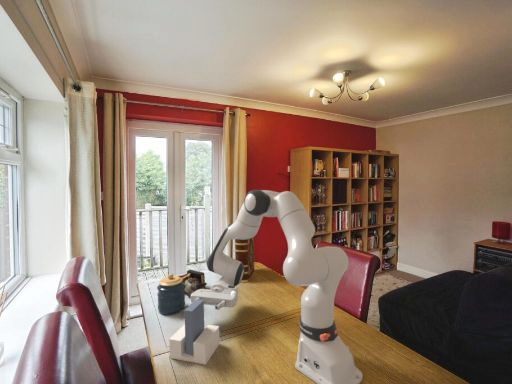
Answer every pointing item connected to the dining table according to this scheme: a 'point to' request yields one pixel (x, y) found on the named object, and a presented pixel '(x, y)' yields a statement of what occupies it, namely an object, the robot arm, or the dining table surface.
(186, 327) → the slim book
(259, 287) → the dining table surface
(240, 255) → the decorative book
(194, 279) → the bookend
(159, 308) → the canister
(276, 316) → the dining table surface
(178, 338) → the book stand
